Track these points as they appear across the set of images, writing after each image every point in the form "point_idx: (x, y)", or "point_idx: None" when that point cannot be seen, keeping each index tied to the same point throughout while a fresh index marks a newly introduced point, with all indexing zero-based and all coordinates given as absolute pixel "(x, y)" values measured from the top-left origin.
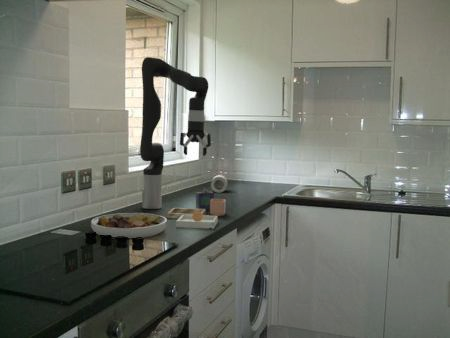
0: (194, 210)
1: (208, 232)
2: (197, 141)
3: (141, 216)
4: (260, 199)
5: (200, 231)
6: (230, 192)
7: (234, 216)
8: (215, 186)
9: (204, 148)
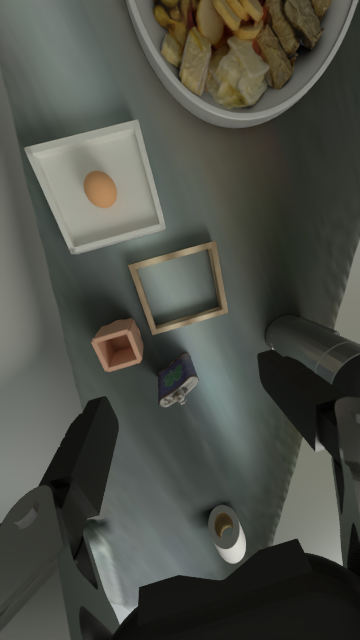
0: (176, 322)
1: (17, 93)
2: (159, 624)
3: (229, 9)
4: (120, 496)
5: (46, 98)
6: (199, 515)
7: (77, 332)
8: (231, 522)
9: (55, 474)
